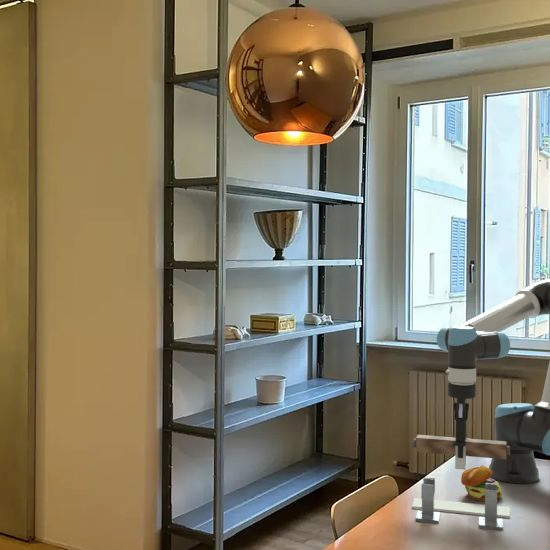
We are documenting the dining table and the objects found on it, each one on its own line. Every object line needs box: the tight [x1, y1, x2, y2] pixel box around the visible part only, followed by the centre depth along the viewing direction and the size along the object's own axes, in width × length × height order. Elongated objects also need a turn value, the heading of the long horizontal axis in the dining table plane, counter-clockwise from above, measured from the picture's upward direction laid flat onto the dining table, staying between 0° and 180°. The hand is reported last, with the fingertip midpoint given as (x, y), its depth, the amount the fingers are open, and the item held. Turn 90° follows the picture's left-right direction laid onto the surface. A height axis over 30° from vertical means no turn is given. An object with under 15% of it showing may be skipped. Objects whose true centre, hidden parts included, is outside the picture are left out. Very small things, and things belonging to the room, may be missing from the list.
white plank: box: [411, 497, 511, 519], centre depth 201 cm, size 26×7×1 cm, turn 73°
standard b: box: [478, 483, 504, 531], centre depth 189 cm, size 6×6×10 cm
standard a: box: [415, 476, 441, 524], centre depth 194 cm, size 6×6×10 cm
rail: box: [412, 434, 510, 459], centre depth 201 cm, size 26×4×4 cm, turn 73°
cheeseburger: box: [460, 465, 503, 502], centre depth 211 cm, size 10×11×10 cm
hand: (460, 466), depth 201 cm, fingers closed on rail, 3 cm apart
